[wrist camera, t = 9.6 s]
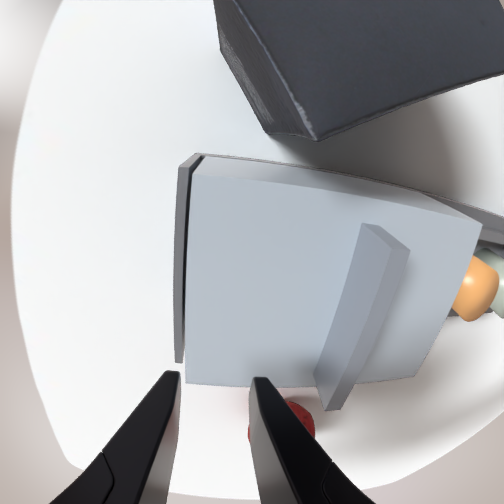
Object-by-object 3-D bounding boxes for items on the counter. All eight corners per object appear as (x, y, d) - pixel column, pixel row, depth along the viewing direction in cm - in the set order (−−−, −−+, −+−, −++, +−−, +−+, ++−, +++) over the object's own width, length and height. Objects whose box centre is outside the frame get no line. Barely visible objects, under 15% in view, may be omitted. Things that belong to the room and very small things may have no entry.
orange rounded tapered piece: (433, 237, 18) (476, 267, 14) (465, 243, 19) (506, 271, 14) (416, 285, 20) (452, 322, 15) (448, 287, 20) (483, 320, 16)
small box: (364, -3, 12) (462, -67, 3) (407, 80, 15) (533, 73, 5) (213, 45, 14) (197, -51, 4) (266, 138, 16) (320, 156, 7)
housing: (511, 219, 20) (553, 244, 14) (477, 309, 24) (509, 342, 18) (195, 152, 16) (178, 166, 11) (186, 301, 20) (175, 362, 15)
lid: (420, 192, 17) (514, 243, 9) (378, 320, 21) (430, 403, 13) (205, 156, 15) (181, 188, 7) (194, 313, 19) (181, 421, 11)
